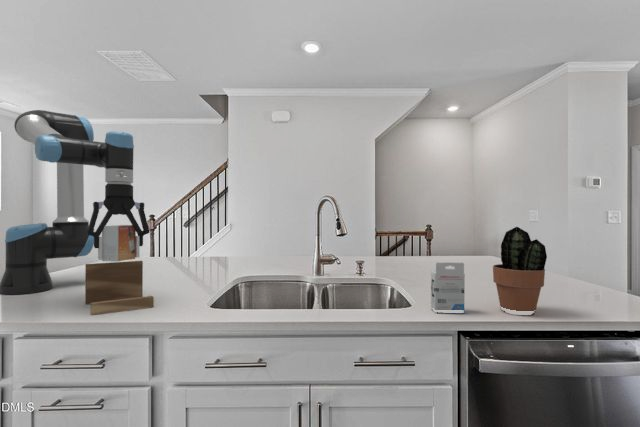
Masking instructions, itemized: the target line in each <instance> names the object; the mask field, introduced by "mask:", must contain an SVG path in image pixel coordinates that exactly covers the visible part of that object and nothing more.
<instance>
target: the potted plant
mask: <svg viewBox="0 0 640 427" xmlns="http://www.w3.org/2000/svg"><path fill="white" fill-rule="evenodd" d="M500 256H501V257H500V261H501V263H498V264H494V265H492V272H493V274H492V275H493V277H492V278H493V283H495V286H496V291H497V295H498V300H499V306H501V307H503V308H506V309H510V310H516V311H534V310H537V306H538V303H539V298H540V294H541V290H542V288H543V287H544V286H545V275H546V269H545V267H546V263H547V262H546V261H547V258H548V257H547V256H548V255H547V250H546V245H544V243H542V242H541V241H539V240H538V239H536V238H535V239H533V240H532V239H531V237H530V234H529V232H528V231H526V230H524V229H522V228H520V227H518V226H515V227H513V228H511V229H509V230H507V231H506V232H505V233H504V235H503V239H502V242H501V244H500ZM501 307H500V308H501Z"/></svg>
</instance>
